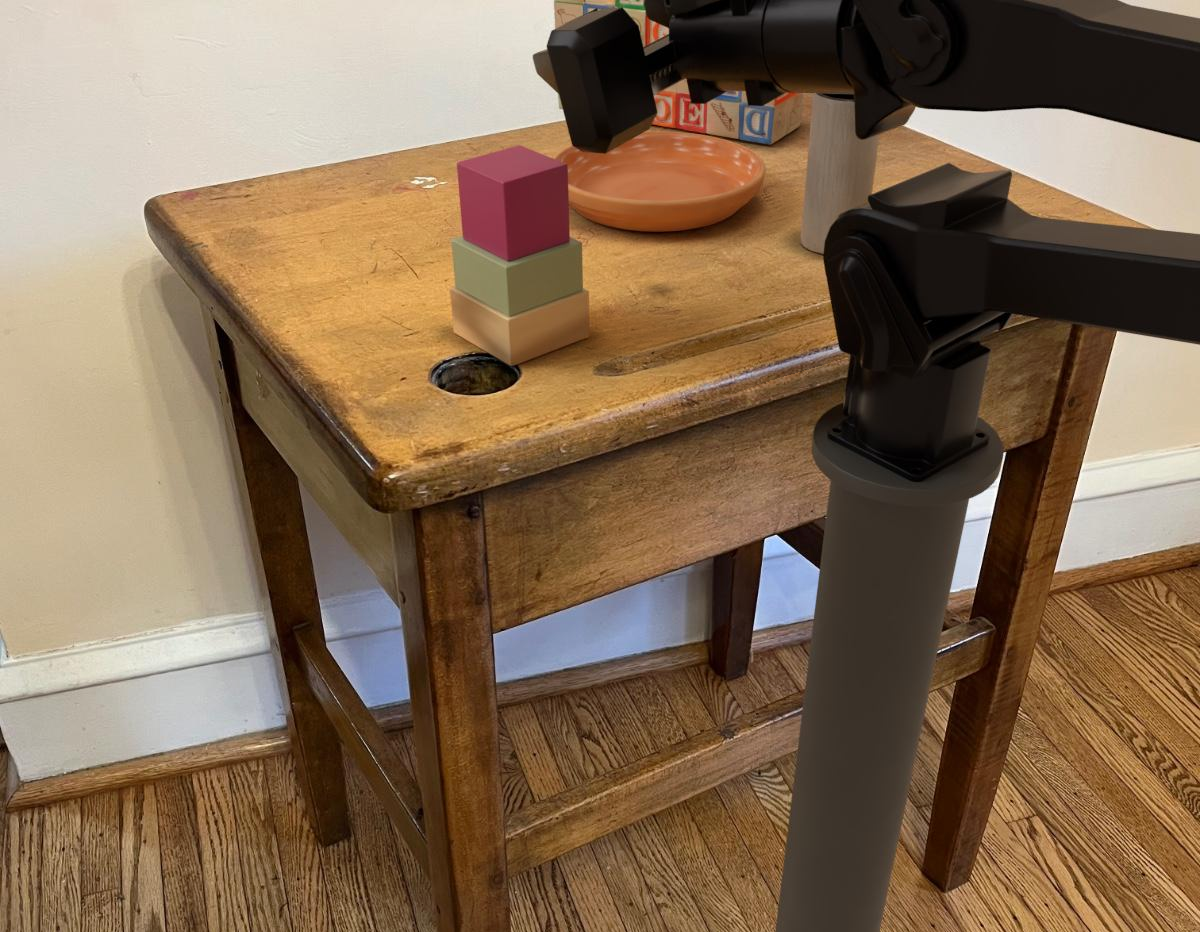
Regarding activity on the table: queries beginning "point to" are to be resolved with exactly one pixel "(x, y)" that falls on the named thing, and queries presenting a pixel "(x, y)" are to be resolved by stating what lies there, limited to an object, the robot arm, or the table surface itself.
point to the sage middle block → (518, 275)
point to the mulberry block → (514, 202)
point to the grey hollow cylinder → (834, 167)
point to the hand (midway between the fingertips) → (593, 35)
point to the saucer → (663, 181)
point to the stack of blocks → (674, 103)
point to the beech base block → (521, 326)
